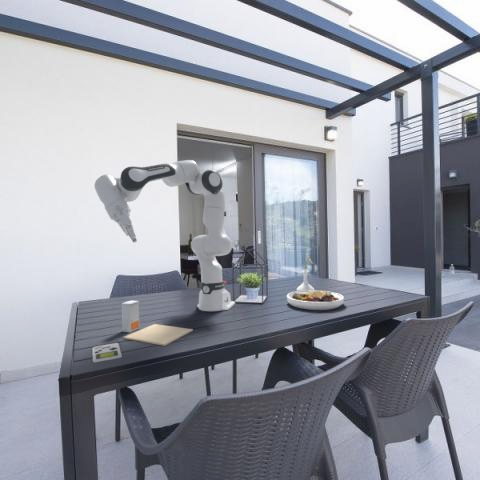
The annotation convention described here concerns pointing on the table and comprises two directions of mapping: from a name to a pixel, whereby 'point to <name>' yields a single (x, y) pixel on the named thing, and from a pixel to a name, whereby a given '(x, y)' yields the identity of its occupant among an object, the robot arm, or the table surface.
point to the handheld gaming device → (106, 352)
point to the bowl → (315, 300)
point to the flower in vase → (305, 279)
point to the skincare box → (130, 316)
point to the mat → (158, 334)
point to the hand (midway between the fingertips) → (134, 239)
